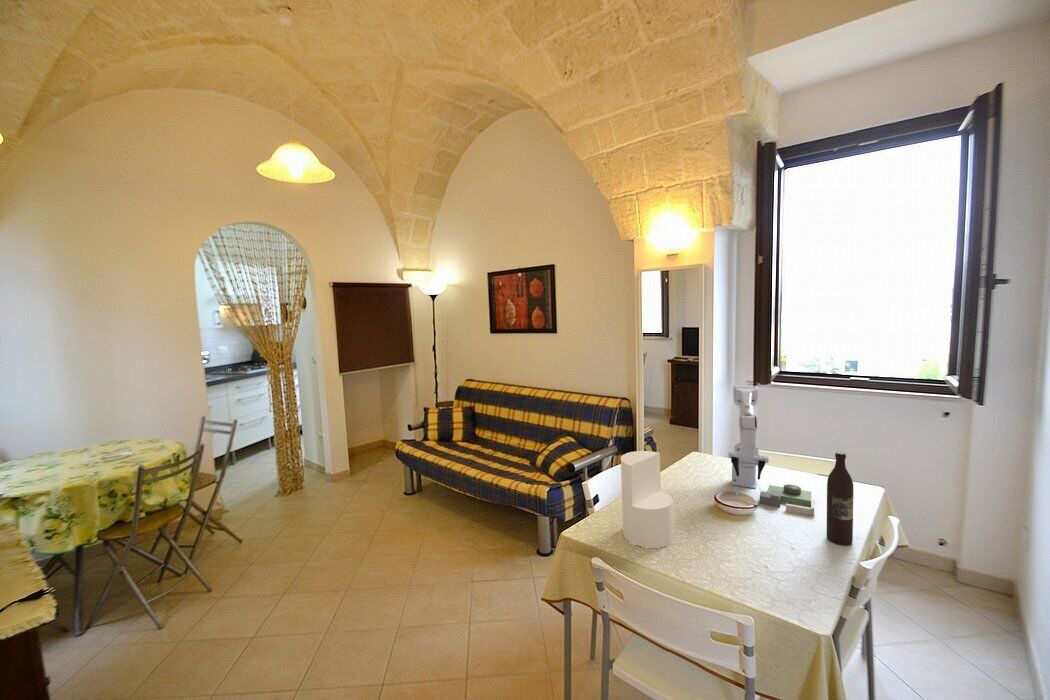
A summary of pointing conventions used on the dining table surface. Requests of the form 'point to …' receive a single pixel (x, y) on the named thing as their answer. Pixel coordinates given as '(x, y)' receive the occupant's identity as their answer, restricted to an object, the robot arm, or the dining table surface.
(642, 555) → the dining table surface
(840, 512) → the wine bottle
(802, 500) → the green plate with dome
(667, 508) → the white stepped pillar
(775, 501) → the grey stepped block
